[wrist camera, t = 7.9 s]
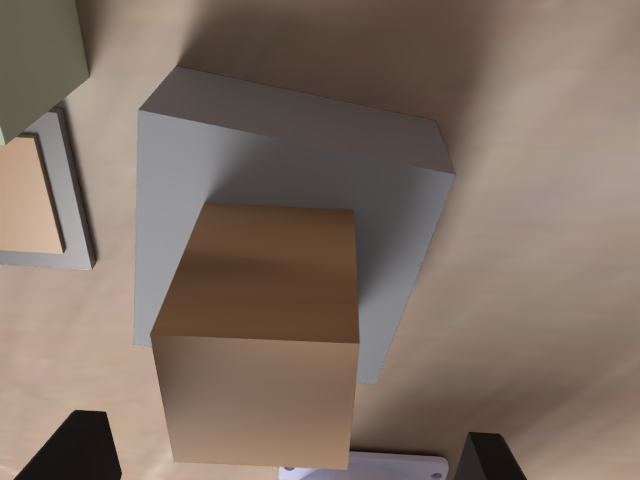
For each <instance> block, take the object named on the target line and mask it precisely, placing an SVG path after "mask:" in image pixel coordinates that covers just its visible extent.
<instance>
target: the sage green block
mask: <svg viewBox="0 0 640 480" xmlns="http://www.w3.org/2000/svg"><path fill="white" fill-rule="evenodd" d="M88 78H89V73H88V67H87V62H86V57H85V51H84V46H83V40H82V35H81V29H80V24H79V19H78V13H77V8H76V2H75V0H0V145H7V144H8V143H9V142H10V141H12V140H13V139H14V138H15V137H17V136H18V135H19V134H20V133H22V132H23V131H24V130H25V129H26V128H28V127H29V126H30V125H31V124H33V123H34V122H35V121H36V120H38V119H39V118H40V117H41V116H43V115H44V114H45V113H46V112H47V111H49V110H50V109H51V108H52V107H54V106H55V105H56V104H57V103H59V102H60V101H61V100H62V99H64V98H65V97H66V96H67V95H69V94H70V93H71V92H72V91H73V90H75V89H76V88H77V87H78V86H80V85H81V84H82V83H83V82H85V81H86V80H87V79H88Z"/></svg>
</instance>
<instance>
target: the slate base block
mask: <svg viewBox="0 0 640 480" xmlns="http://www.w3.org/2000/svg"><path fill="white" fill-rule="evenodd" d="M455 176H456V173H455V171H454V168H453V165H452V163H451V160H450V158H449V155H448V152H447V150H446V147H445V144H444V142H443V139H442V137H441V134H440V131H439V129H438V126H437V124H436V121H434V120H429V119H425V118H420V117H415V116H410V115H406V114H401V113H396V112H392V111H387V110H382V109H377V108H373V107H368V106H363V105H358V104H354V103H349V102H344V101H340V100H335V99H330V98H325V97H321V96H316V95H311V94H307V93H302V92H297V91H292V90H288V89H283V88H278V87H274V86H269V85H264V84H259V83H255V82H250V81H245V80H240V79H236V78H231V77H226V76H222V75H217V74H212V73H207V72H203V71H198V70H193V69H189V68H184V67H179V66H176V67H175V68H174V69H173V70H172V71H171V72H170V74H169V75H168V76H167V77H166V78H165V79H164V81H163V82H162V83H161V84H160V85H159V86H158V88H157V89H156V90H155V91H154V92H153V93H152V95H151V96H150V97H149V98H148V99H147V100H146V101H145V103H144V104H143V105H142V106H141V107H140V108H139V110H138V145H137V191H136V238H135V284H134V331H133V345H139V346H145V347H151V348H152V344H151V338H150V333H151V330H152V328H153V326H154V323H155V321H156V318H157V316H158V313H159V311H160V308H161V306H162V304H163V301H164V299H165V296H166V294H167V291H168V289H169V287H170V284H171V282H172V279H173V277H174V274H175V272H176V270H177V267H178V265H179V262H180V260H181V257H182V255H183V253H184V250H185V248H186V245H187V243H188V240H189V238H190V236H191V233H192V231H193V228H194V226H195V223H196V221H197V219H198V216H199V214H200V211H201V209H202V206H203V204H204V203H206V204H230V205H253V206H277V207H300V208H324V209H347V210H354V221H355V244H356V267H357V289H358V312H359V335H360V348H359V358H358V368H357V378H356V382H359V383H365V384H371V385H375V384H376V382H377V379H378V376H379V374H380V371H381V369H382V366H383V363H384V361H385V358H386V356H387V353H388V350H389V348H390V345H391V343H392V340H393V337H394V335H395V332H396V330H397V327H398V324H399V322H400V319H401V317H402V314H403V311H404V309H405V306H406V304H407V301H408V298H409V296H410V293H411V291H412V288H413V285H414V283H415V280H416V278H417V275H418V272H419V270H420V267H421V265H422V262H423V259H424V257H425V254H426V252H427V249H428V247H429V244H430V241H431V239H432V236H433V234H434V231H435V228H436V226H437V223H438V221H439V218H440V215H441V213H442V210H443V208H444V205H445V202H446V200H447V197H448V195H449V192H450V189H451V187H452V184H453V182H454V179H455Z"/></svg>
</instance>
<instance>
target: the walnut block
mask: <svg viewBox="0 0 640 480" xmlns="http://www.w3.org/2000/svg"><path fill="white" fill-rule="evenodd" d="M150 338H151V344H152V349H153V354H154V359H155V365H156V370H157V375H158V380H159V386H160V391H161V396H162V401H163V407H164V412H165V417H166V422H167V428H168V433H169V438H170V443H171V449H172V454H173V459H174V462H184V463H206V464H228V465H250V466H272V467H294V468H316V469H338V470H347V468H348V458H349V448H350V438H351V428H352V418H353V408H354V398H355V388H356V378H357V368H358V358H359V348H360V335H359V312H358V289H357V267H356V244H355V221H354V210H347V209H324V208H300V207H277V206H253V205H230V204H206V203H204V204H203V206H202V209H201V211H200V214H199V216H198V219H197V221H196V223H195V226H194V228H193V231H192V233H191V236H190V238H189V240H188V243H187V245H186V248H185V250H184V253H183V255H182V257H181V260H180V262H179V265H178V267H177V270H176V272H175V274H174V277H173V279H172V282H171V284H170V287H169V289H168V291H167V294H166V296H165V299H164V301H163V304H162V306H161V308H160V311H159V313H158V316H157V318H156V321H155V323H154V326H153V328H152V330H151V333H150Z"/></svg>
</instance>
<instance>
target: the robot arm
mask: <svg viewBox="0 0 640 480" xmlns="http://www.w3.org/2000/svg"><path fill="white" fill-rule="evenodd" d="M448 470H449V466H448V461H447V460H446V459H445V458H443V457H436V456H420V455H403V454H387V453H370V452H354V451H349V458H348V468H347V470H338V469H316V468H294V467H279V480H446V477H447V474H448ZM121 475H122V472H121V468H120V464H119V460H118V456H117V452H116V449H115V445H114V441H113V437H112V433H111V429H110V425H109V421H108V418H107V414H106V412H102V411H84V410H75V411H74V412H72V413H71V414H70V415H69V416H68V418H67V419H66V420H65V421H64V422H63V423H62V425H61V426H60V427H59V428H58V429H57V430H56V432H55V433H54V434H53V435H52V436H51V437H50V439H49V440H48V441H47V442H46V443H45V444H44V446H43V447H42V448H41V449H40V450H39V451H38V452H37V454H36V455H35V456H34V457H33V458H32V459H31V460H30V462H29V463H28V464H27V465H26V466H25V467H24V468H23V470H22V471H21V472H20V473H19V474H18V475H17V476H16V477H15V479H14V480H120V479H121ZM454 480H527V479H526V477H525V475H524V474H523V472H522V470H521V468H520V467H519V465H518V463H517V461H516V460H515V458H514V456H513V454H512V452H511V451H510V449H509V447H508V445H507V443H506V442H505V440H504V438H503V437H502V436H501V435H500V434H494V433H476V432H469V433H468V436H467V439H466V442H465V446H464V449H463V452H462V455H461V459H460V462H459V465H458V468H457V472H456V475H455V478H454Z"/></svg>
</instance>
